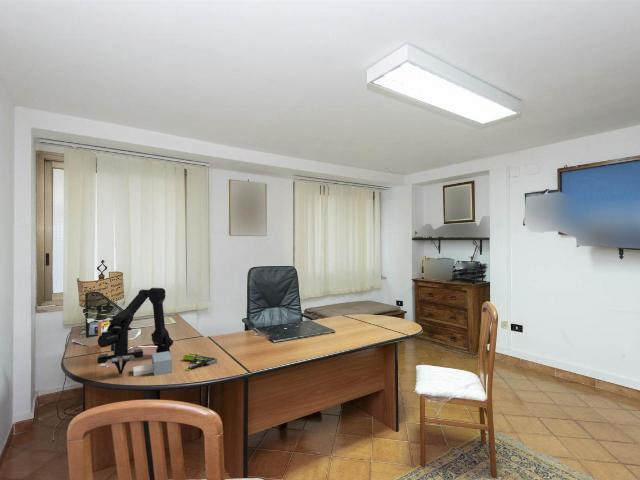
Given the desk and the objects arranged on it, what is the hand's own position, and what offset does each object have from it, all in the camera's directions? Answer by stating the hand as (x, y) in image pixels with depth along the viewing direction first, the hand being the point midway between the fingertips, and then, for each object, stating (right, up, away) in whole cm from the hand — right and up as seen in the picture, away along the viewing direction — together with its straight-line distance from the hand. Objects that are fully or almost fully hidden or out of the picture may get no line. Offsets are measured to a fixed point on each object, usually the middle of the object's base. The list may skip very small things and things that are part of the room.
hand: (120, 373), depth 160 cm
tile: (+10, -2, +7) cm, 12 cm away
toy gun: (+30, -2, +15) cm, 34 cm away
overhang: (+15, -1, +9) cm, 18 cm away
